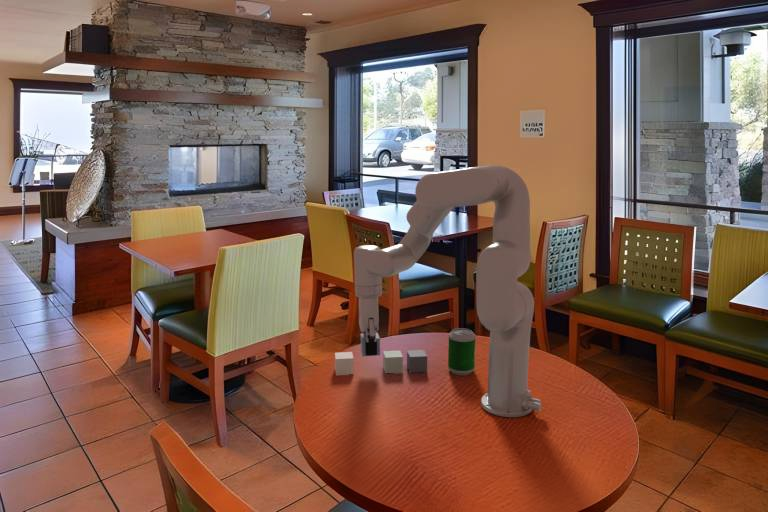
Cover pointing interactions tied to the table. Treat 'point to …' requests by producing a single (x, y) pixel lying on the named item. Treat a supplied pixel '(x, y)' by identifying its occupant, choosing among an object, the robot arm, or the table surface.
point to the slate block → (363, 340)
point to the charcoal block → (417, 361)
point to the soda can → (461, 351)
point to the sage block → (392, 361)
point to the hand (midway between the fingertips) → (370, 350)
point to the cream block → (344, 363)
